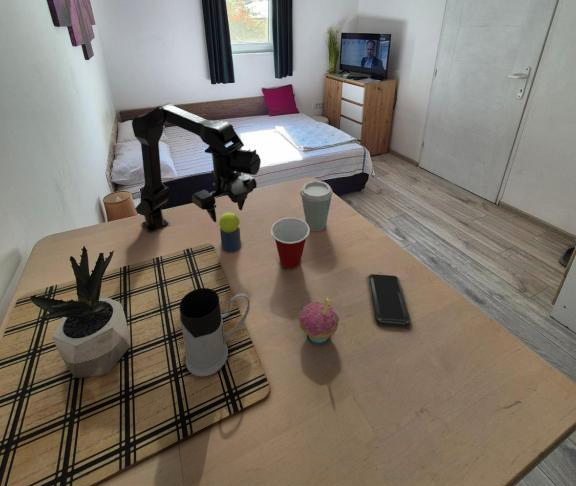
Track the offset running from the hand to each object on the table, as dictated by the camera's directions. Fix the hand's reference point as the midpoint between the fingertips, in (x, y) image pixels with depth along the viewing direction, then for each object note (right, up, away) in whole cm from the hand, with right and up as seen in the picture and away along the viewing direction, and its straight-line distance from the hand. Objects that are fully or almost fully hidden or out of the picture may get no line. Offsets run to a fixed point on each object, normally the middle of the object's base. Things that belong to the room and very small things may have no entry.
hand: (227, 215), depth 97 cm
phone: (+43, -19, -15) cm, 49 cm away
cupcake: (+25, -23, -24) cm, 41 cm away
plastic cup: (+19, -13, -2) cm, 23 cm away
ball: (0, -2, +1) cm, 3 cm away
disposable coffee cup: (+27, -6, +15) cm, 31 cm away
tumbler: (0, -10, +4) cm, 11 cm away
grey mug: (+3, -24, -27) cm, 37 cm away
